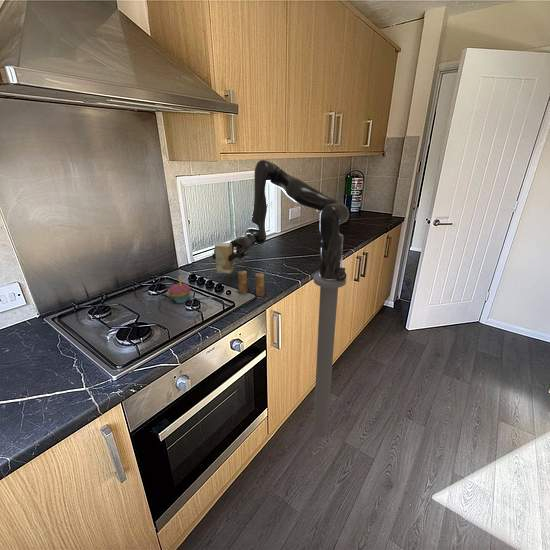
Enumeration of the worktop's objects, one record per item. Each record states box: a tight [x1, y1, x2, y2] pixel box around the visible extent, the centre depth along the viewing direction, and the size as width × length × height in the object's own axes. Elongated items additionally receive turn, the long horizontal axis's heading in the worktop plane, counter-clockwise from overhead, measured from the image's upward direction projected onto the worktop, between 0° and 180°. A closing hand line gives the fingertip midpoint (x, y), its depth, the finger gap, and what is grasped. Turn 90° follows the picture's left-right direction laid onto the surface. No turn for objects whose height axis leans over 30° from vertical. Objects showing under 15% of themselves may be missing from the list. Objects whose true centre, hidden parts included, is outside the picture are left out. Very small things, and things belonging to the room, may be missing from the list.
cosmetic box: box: [214, 242, 234, 275], centre depth 122 cm, size 6×4×12 cm
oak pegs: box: [237, 270, 266, 297], centre depth 122 cm, size 12×4×9 cm, turn 68°
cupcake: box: [167, 275, 192, 304], centre depth 116 cm, size 9×8×12 cm
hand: (221, 257), depth 120 cm, fingers closed on cosmetic box, 7 cm apart
